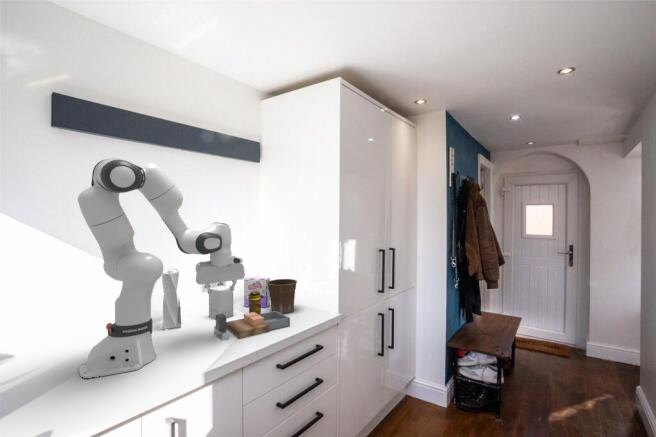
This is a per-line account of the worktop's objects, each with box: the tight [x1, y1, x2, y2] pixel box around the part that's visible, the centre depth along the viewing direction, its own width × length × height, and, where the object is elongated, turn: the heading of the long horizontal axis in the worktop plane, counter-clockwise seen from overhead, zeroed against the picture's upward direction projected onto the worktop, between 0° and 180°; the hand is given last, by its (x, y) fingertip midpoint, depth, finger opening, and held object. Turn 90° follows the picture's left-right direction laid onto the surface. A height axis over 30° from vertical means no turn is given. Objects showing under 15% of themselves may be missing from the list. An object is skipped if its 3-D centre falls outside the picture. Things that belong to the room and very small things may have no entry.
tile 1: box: [243, 312, 258, 323], centre depth 150 cm, size 5×5×3 cm
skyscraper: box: [161, 267, 182, 330], centre depth 150 cm, size 8×8×28 cm
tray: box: [258, 311, 291, 332], centre depth 153 cm, size 11×14×4 cm
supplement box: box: [208, 285, 234, 320], centre depth 166 cm, size 9×9×15 cm
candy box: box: [243, 276, 271, 309], centre depth 185 cm, size 14×6×16 cm, turn 80°
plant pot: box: [267, 278, 298, 315], centre depth 176 cm, size 16×16×16 cm
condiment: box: [248, 292, 262, 314], centre depth 168 cm, size 7×8×12 cm
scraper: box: [213, 313, 229, 342], centre depth 139 cm, size 3×11×9 cm, turn 37°
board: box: [226, 318, 270, 340], centre depth 146 cm, size 14×16×3 cm
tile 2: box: [249, 315, 264, 327], centre depth 145 cm, size 5×5×3 cm
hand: (221, 292), depth 139 cm, fingers open, 8 cm apart
